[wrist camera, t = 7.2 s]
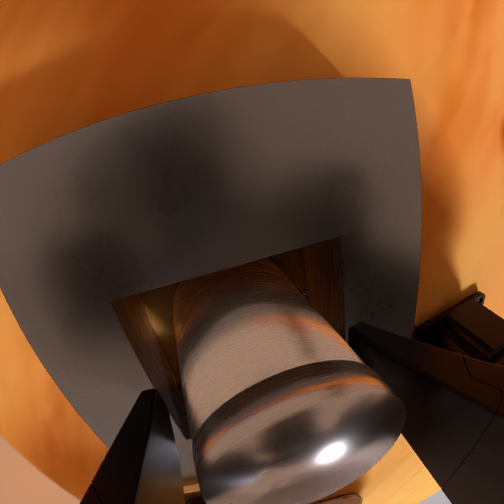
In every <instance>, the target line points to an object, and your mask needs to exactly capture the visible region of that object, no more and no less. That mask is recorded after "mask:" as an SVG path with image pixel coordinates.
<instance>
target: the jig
mask: <svg viewBox="0 0 504 504" xmlns="http://www.w3.org/2000/svg"><path fill="white" fill-rule="evenodd" d="M421 226H422V199H421V170H420V155H419V142H418V132H417V123H416V115H415V107H414V100H413V94H412V87H411V82H410V79H395V78H328V79H310V80H297V81H286V82H276V83H267V84H259V85H252V86H245V87H238V88H232V89H226V90H220V91H215V92H210V93H205V94H200V95H195V96H190V97H186V98H181V99H177V100H173V101H169V102H165V103H161V104H157V105H153V106H149V107H146V108H142V109H139V110H135V111H132V112H128V113H125V114H122V115H119V116H116V117H112V118H109V119H106V120H103V121H101V122H98V123H95V124H92V125H89V126H86V127H84V128H81V129H78V130H76V131H73V132H71V133H68V134H65V135H63V136H61V137H58V138H56V139H53V140H51V141H49V142H46V143H44V144H42V145H39V146H37V147H35V148H33V149H31V150H29V151H26V152H24V153H22V154H20V155H18V156H16V157H14V158H12V159H10V160H8V161H6V162H4V163H2V164H0V288H1V290H2V293H3V295H4V297H5V299H6V301H7V303H8V305H9V307H10V309H11V311H12V313H13V315H14V317H15V318H16V320H17V322H18V324H19V326H20V328H21V329H22V331H23V333H24V335H25V336H26V338H27V340H28V342H29V343H30V345H31V347H32V348H33V350H34V351H35V353H36V355H37V356H38V358H39V359H40V361H41V363H42V364H43V366H44V367H45V369H46V370H47V372H48V373H49V375H50V376H51V377H52V379H53V380H54V382H55V383H56V385H57V386H58V387H59V389H60V390H61V392H62V393H63V394H64V396H65V397H66V398H67V400H68V401H69V402H70V403H71V405H72V406H73V407H74V409H75V410H76V411H77V412H78V414H79V415H80V416H81V417H82V419H83V420H84V421H85V422H86V423H87V424H88V426H89V427H90V428H91V429H92V430H93V431H94V433H95V434H96V435H97V436H98V437H99V438H100V439H101V440H102V442H103V443H104V444H105V445H106V446H107V447H108V448H109V449H110V447H111V445H112V443H113V441H114V440H115V438H116V436H117V434H118V432H119V430H120V429H121V427H122V425H123V423H124V421H125V420H126V418H127V416H128V414H129V412H130V411H131V409H132V407H133V405H134V404H135V402H136V400H137V398H138V396H139V395H140V393H141V392H142V391H143V390H147V389H152V388H155V389H157V390H158V392H159V394H160V395H161V397H162V399H163V400H164V402H165V404H166V406H167V408H168V410H169V414H170V419H171V424H172V428H173V433H174V437H175V441H176V446H177V450H178V454H179V459H180V466H181V474H182V482H183V489H184V494H186V493H192V492H197V491H200V488H199V484H198V479H197V475H196V470H195V466H194V461H193V456H192V445H193V444H192V439H191V434H190V429H189V423H188V418H187V412H186V406H185V400H184V394H183V388H182V384H178V382H177V380H176V378H175V376H174V374H173V372H172V370H171V368H170V365H169V363H168V361H167V359H166V357H165V355H164V353H163V351H162V348H161V346H160V344H159V342H158V340H157V337H156V335H155V333H154V330H153V328H152V326H151V324H150V321H149V319H148V316H147V314H146V312H145V309H144V307H143V304H142V302H141V299H140V297H139V294H138V293H142V292H145V291H149V290H153V289H156V288H160V287H163V286H167V285H171V284H174V283H178V282H181V281H185V280H188V279H192V278H196V277H199V276H203V275H206V274H210V273H213V272H217V271H220V270H224V269H228V268H231V267H235V266H238V265H242V264H245V263H249V262H252V261H256V260H259V259H263V258H266V257H270V256H273V255H277V254H280V253H284V252H287V251H291V250H294V249H298V248H301V247H302V251H303V259H304V267H305V276H306V284H307V293H308V301H309V302H310V303H311V304H312V305H313V306H314V307H315V309H316V310H317V311H318V312H319V313H320V314H321V315H322V316H323V317H324V318H325V320H326V321H327V322H328V323H329V324H330V325H331V326H332V327H333V328H334V330H335V331H336V332H337V333H338V334H339V335H340V336H341V337H342V338H343V339H344V341H345V342H346V343H347V344H348V329H349V327H350V326H353V325H355V324H357V323H365V324H368V325H371V326H374V327H377V328H380V329H383V330H386V331H389V332H392V333H395V334H398V335H401V336H404V337H407V338H410V339H412V333H413V326H414V319H415V311H416V303H417V294H418V283H419V271H420V255H421Z"/></svg>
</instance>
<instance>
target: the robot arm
mask: <svg viewBox="0 0 504 504" xmlns="http://www.w3.org/2000/svg"><path fill="white" fill-rule="evenodd" d="M484 299H485V294H483V293H482V292H480V291H478V292H476V293H475V294H473V295H472V296H470V297H469V298H467V299H465V300H464V301H462V302H460V303H459V304H457V305H455V306H454V307H452V308H450V309H449V310H447V311H445V312H443V313H442V314H440V315H438V316H436V317H435V318H433V319H431V320H429V321H427V322H426V323H424V324H422V325H420V326H418V327H417V328H416V329H415V330H414V332H413V334H412V339H410V338H407V337H404V336H401V335H398V334H395V333H392V332H389V331H386V330H383V329H380V328H377V327H374V326H371V325H368V324H365V323H357V324H355V325H353V326H350V327H349V329H348V345H349V346H350V347H351V348H352V349H353V351H354V352H355V353H356V354H357V355H358V356H359V357H360V358H361V359H362V361H363V362H364V363H365V364H366V365H367V366H369V367H371V368H372V369H373V370H374V371H376V373H377V374H378V375H379V376H380V377H381V378H382V379H383V380H384V381H385V383H386V384H387V385H388V386H389V387H390V388H391V389H392V390H393V391H394V392H395V394H396V395H397V396H398V397H399V398H400V399H401V400H402V401H403V403H404V405H405V407H406V411H407V415H406V421H405V425H404V427H403V430H402V432H401V433H402V435H403V436H404V438H405V439H406V440H407V442H408V443H409V444H410V446H411V447H412V449H413V450H414V451H415V453H416V454H417V456H418V457H419V458H420V460H421V461H422V462H423V464H424V465H425V467H426V468H427V469H428V471H429V472H430V474H431V475H432V476H433V478H434V479H435V481H436V482H437V483H438V485H439V486H440V487H442V488H441V489H442V491H443V492H444V493H445V495H446V496H447V498H448V499H449V500H450V502H451V503H452V504H504V319H502V318H501V317H499V316H498V315H497V314H495V313H494V312H492V311H491V310H489V309H488V308H486V307H485V306H483V304H484ZM80 504H186V503H185V496H184V489H183V482H182V474H181V466H180V459H179V454H178V450H177V446H176V441H175V437H174V433H173V428H172V424H171V419H170V414H169V410H168V408H167V406H166V404H165V402H164V400H163V399H162V397H161V395H160V394H159V392H158V390H157V389H155V388H152V389H147V390H143V391H142V392H141V393H140V395H139V396H138V398H137V400H136V402H135V404H134V405H133V407H132V409H131V411H130V412H129V414H128V416H127V418H126V420H125V421H124V423H123V425H122V427H121V429H120V430H119V432H118V434H117V436H116V438H115V440H114V441H113V443H112V445H111V447H110V449H109V450H108V452H107V454H106V456H105V458H104V460H103V462H102V463H101V465H100V467H99V469H98V471H97V473H96V475H95V476H94V478H93V480H92V484H90V486H89V487H88V489H87V491H86V493H85V495H84V497H83V499H82V500H81V502H80Z"/></svg>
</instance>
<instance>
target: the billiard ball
mask: <svg viewBox="0 0 504 504" xmlns="http://www.w3.org/2000/svg"><path fill="white" fill-rule="evenodd" d="M185 503H186V504H206V502H205V501H204V500H203V498H197V499H193V500H190V501H187V502H185Z"/></svg>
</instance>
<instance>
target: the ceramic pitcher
mask: <svg viewBox="0 0 504 504" xmlns="http://www.w3.org/2000/svg"><path fill="white" fill-rule="evenodd" d="M314 504H362V497H360V496H359V495H357V494H349V495H345V496H341V497H338V498H335V499H331V500H327V501H323V502H318V503H314Z"/></svg>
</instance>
